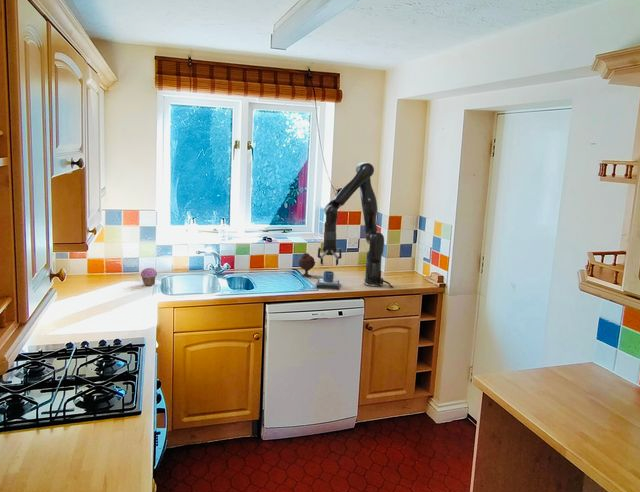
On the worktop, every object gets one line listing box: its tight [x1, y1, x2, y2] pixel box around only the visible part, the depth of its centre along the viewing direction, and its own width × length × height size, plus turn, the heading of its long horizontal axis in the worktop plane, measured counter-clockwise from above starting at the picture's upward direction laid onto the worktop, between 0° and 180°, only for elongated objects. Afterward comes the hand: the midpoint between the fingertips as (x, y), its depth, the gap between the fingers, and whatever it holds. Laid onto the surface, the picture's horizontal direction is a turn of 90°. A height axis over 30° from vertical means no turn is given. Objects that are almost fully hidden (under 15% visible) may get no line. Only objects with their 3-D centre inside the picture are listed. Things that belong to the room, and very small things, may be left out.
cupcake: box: [140, 267, 158, 287], centre depth 269 cm, size 9×9×10 cm
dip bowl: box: [322, 270, 335, 282], centre depth 281 cm, size 6×6×5 cm
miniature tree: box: [297, 252, 316, 278], centre depth 302 cm, size 11×11×15 cm
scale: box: [316, 278, 340, 290], centre depth 280 cm, size 13×13×3 cm
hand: (329, 264), depth 280 cm, fingers open, 8 cm apart
